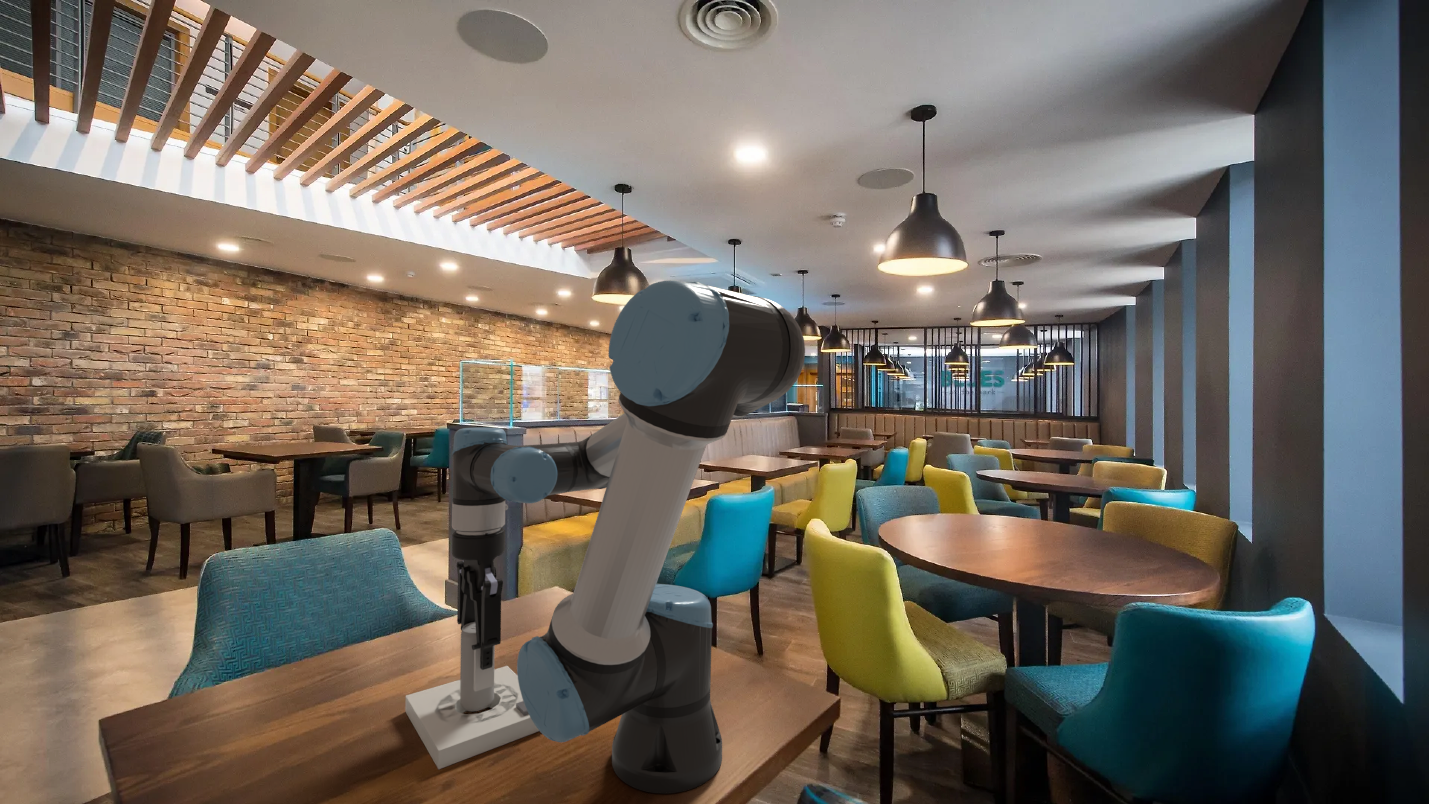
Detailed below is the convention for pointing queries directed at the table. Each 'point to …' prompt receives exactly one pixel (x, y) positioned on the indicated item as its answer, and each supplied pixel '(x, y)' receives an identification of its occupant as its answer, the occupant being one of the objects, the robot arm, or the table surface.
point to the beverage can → (471, 674)
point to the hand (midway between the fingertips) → (477, 680)
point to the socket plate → (468, 719)
